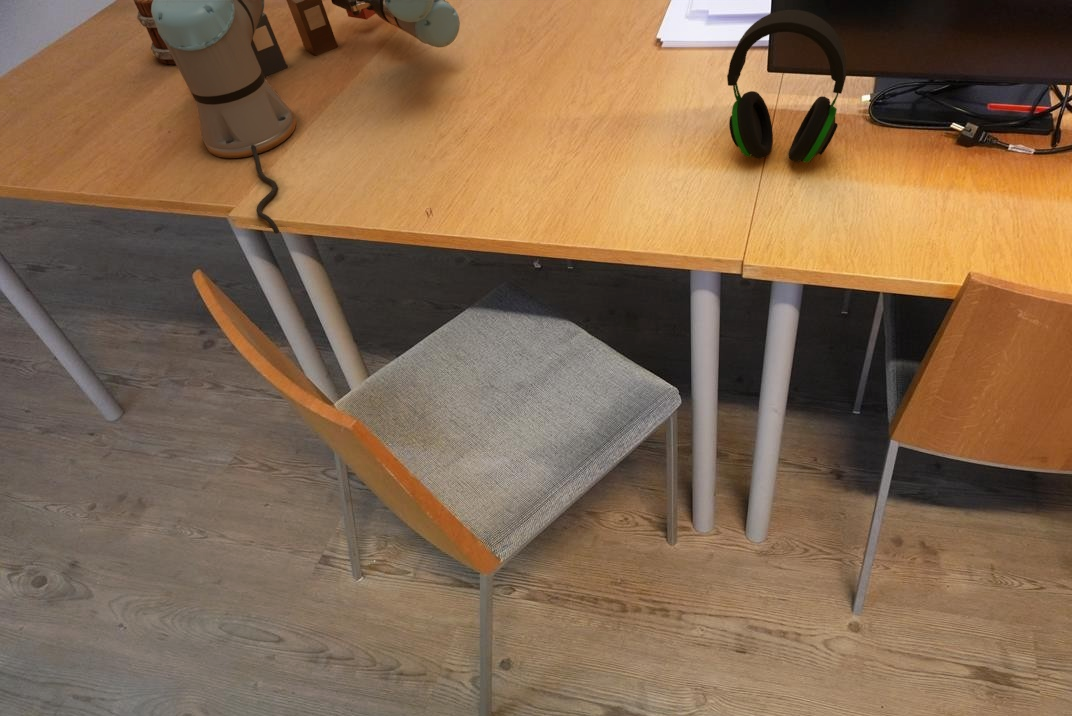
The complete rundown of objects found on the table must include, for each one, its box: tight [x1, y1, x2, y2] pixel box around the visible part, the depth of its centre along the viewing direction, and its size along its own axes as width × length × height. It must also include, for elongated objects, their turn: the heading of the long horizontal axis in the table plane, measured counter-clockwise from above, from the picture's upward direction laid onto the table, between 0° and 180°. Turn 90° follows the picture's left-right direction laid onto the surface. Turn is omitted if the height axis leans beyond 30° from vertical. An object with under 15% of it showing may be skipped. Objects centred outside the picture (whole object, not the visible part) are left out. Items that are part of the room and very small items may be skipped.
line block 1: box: [251, 12, 288, 78], centre depth 146 cm, size 5×5×10 cm
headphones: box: [726, 9, 848, 163], centre depth 106 cm, size 9×16×20 cm, turn 71°
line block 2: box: [286, 0, 339, 57], centre depth 150 cm, size 5×5×10 cm
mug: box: [133, 0, 176, 65], centre depth 155 cm, size 12×14×15 cm
